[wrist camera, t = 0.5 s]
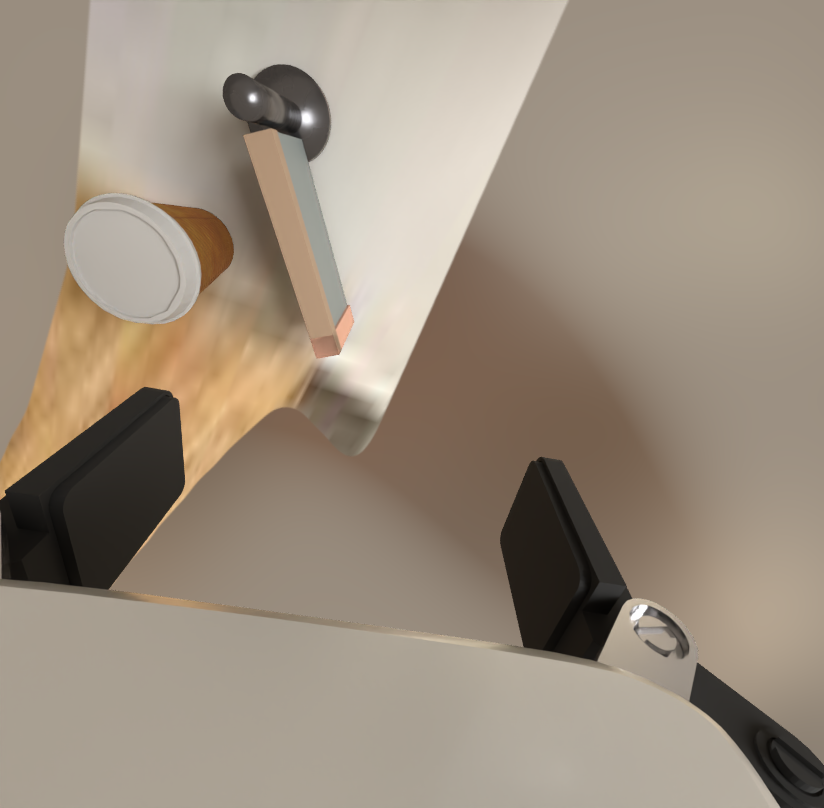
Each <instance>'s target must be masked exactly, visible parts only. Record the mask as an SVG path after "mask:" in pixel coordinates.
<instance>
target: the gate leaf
mask: <svg viewBox="0 0 824 808" xmlns="http://www.w3.org/2000/svg"><path fill="white" fill-rule="evenodd" d="M243 137H244V140H245V143H246V146H247V149H248V152H249V155H250V158H251V161H252V164H253V167H254V170H255V173H256V176H257V179H258V182H259V185H260V188H261V191H262V194H263V197H264V200H265V203H266V206H267V209H268V212H269V215H270V219H271V222H272V225H273V228H274V231H275V234H276V237H277V240H278V243H279V246H280V249H281V252H282V255H283V258H284V261H285V264H286V267H287V270H288V273H289V276H290V279H291V282H292V285H293V288H294V291H295V294H296V297H297V300H298V303H299V306H300V310H301V313H302V316H303V319H304V322H305V325H306V328H307V331H308V334H309V337H310V340H311V343H312V346H313V349H314V352H315V355H316V358H323V357H328V356H334V355H339V354H340V352H341V349H342V347H343V345H344V343H345V341H346V339H347V336H348V334H349V332H350V330H351V328H352V326H353V323H354V319H353V316H352V312H351V308H350V305H347V303H346V299H345V295H344V292H343V288H342V284H341V281H340V277H339V273H338V270H337V266H336V262H335V259H334V255H333V252H332V248H331V244H330V241H329V237H328V233H327V230H326V226H325V222H324V219H323V215H322V211H321V208H320V204H319V200H318V197H317V193H316V189H315V186H314V182H313V178H312V175H311V171H310V167H309V164H308V160H307V157H306V153H305V149H304V146H303V142H302V139H299V138H296V137H292V136H289V135H286V134H282V133H279V132H277V130H275V129H272V128H270V129H266V130H262V131H258V132H254V133H250V134H246V135H243Z"/></svg>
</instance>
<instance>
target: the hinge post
mask: <svg viewBox="0 0 824 808" xmlns="http://www.w3.org/2000/svg"><path fill="white" fill-rule="evenodd" d="M223 99H224V102H225V105H226V107H227V108H228V110H229V111H230V112H231V113H232V114H233V115H234V116H235V117H237V118H239V119H241V120H245V121H248V125H249V128H250V131H251V133H254V132H258V131H262V130H266V129H270V128H272V129H275V130H277V132H279V133H282V134H286V135H289V136H292V137H296V138H299V139H302V142H303V146H304V149H305V153H306V157H307V160H308V162H310V161H312V160H314V159H315V158H316V157H318V156H319V155H320V154H321V152H322V151H323V150H324V148H325V146H326V144H327V142H328V139H329V135H330V130H331V115H330V109H329V106H328V102H327V100H326V97H325V95H324V93H323V92H322V90H321V88H320V87H319V86H318V84H317V83H316V82H315V81H314V80H313V79H312V78H311V77H310V76H309V75H308V74H306V73H305V72H303V71H302V70H300V69H298V68H296V67H293V66H290V65H273V66H270V67H268V68H266V69H264V70H263V71H262V72H260V73H259V74H258V75H257V76H256V77H255V79H252V78H250V77H249V76H247V75H245V74H241V73H235V74H232V75H231V76H229V77H228V78H227V79H226V81H225V83H224V86H223Z"/></svg>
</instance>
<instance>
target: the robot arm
mask: <svg viewBox="0 0 824 808" xmlns="http://www.w3.org/2000/svg"><path fill="white" fill-rule="evenodd" d="M184 485H185V473H184V460H183V447H182V433H181V420H180V407H179V401H178V399H177V398H173V395H172V393H171V392H170V391H166V390H160V389H154V388H149V387H144V388H142V389H140V390H139V391H137V392H136V393H135V394H133V395H132V396H131V397H129V398H128V399H127V400H125V401H124V402H123V403H121V404H120V405H119V406H117V407H116V408H115V409H113V410H112V411H111V412H109V413H108V414H107V415H105V416H104V417H103V418H101V419H100V420H99V421H97V422H96V423H95V424H93V425H92V426H91V427H89V428H88V429H87V430H85V431H84V432H83V433H81V434H80V435H79V436H77V437H76V438H75V439H73V440H72V441H71V442H69V443H68V444H67V445H65V446H64V447H63V448H61V449H60V450H59V451H57V452H56V453H55V454H53V455H52V456H51V457H49V458H48V459H47V460H45V461H44V462H43V463H41V464H40V465H39V466H37V467H36V468H35V469H33V470H32V471H31V472H29V473H28V474H27V475H25V476H24V477H23V478H21V479H20V480H19V481H17V482H16V483H15V484H13V485H12V486H11V487H9V488H8V489H7V490H5V493H6V496H5V497H3V498H2V499H1V500H0V808H824V765H823V764H822V763H821V761H820V760H819V759H818V758H817V757H816V756H815V755H814V754H813V753H812V752H811V750H810V749H809V748H808V747H806V746H805V745H804V744H803V743H802V742H801V741H799V740H798V739H797V738H796V737H795V736H793V735H792V734H791V733H790V732H788V731H787V730H786V729H784V728H783V727H782V726H780V725H779V724H778V723H776V722H775V721H774V720H772V719H771V718H770V717H769V716H767V715H766V714H765V713H763V712H762V711H760V710H759V709H758V708H757V707H755V706H754V705H753V704H751V703H750V702H749V701H747V700H746V699H745V698H743V697H742V696H741V695H739V694H738V693H737V692H736V691H734V690H733V689H731V688H730V687H729V686H728V685H726V684H725V683H724V682H722V681H721V680H720V679H718V678H717V677H716V676H714V675H713V674H712V673H710V672H709V671H708V670H707V669H705V668H704V667H703V666H701V665H700V664H699V663H697V660H698V648H697V646H696V643H695V640H694V638H693V636H692V635H691V633H690V632H689V630H688V629H687V627H686V626H685V625H684V624H683V623H682V622H681V621H680V620H679V619H678V618H677V617H676V616H675V615H673V614H672V613H671V612H669V611H668V610H667V609H665V608H664V607H662V606H660V605H658V604H656V603H654V602H651V601H648V600H645V599H637V598H634V599H632V597H631V595H630V593H629V591H628V589H627V586H626V584H625V582H624V580H623V578H622V576H621V574H620V572H619V570H618V568H617V566H616V564H615V562H614V560H613V558H612V557H611V555H610V553H609V551H608V549H607V547H606V545H605V543H604V541H603V539H602V537H601V535H600V533H599V531H598V529H597V527H596V526H595V523H594V522H593V520H592V518H591V516H590V514H589V512H588V510H587V508H586V506H585V504H584V502H583V500H582V498H581V496H580V494H579V492H578V490H577V488H576V487H575V485H574V483H573V481H572V479H571V477H570V475H569V473H568V471H567V469H566V467H565V465H564V464H563V462H562V461H560V460H556V459H550V458H544V457H540V458H538V459H537V461H531V463H530V464H529V466H528V469H527V471H526V473H525V476H524V478H523V481H522V483H521V486H520V488H519V490H518V493H517V495H516V498H515V500H514V503H513V505H512V508H511V510H510V513H509V515H508V517H507V520H506V522H505V524H504V527H503V529H502V532H501V537H500V544H501V548H502V553H503V558H504V562H505V567H506V571H507V575H508V580H509V584H510V589H511V593H512V598H513V602H514V606H515V610H516V615H517V620H518V624H519V628H520V633H521V637H522V642H523V646H524V647H518V646H512V645H506V644H499V643H493V642H487V641H480V640H473V639H466V638H459V637H452V636H445V635H438V634H431V633H424V632H417V631H410V630H403V629H396V628H389V627H382V626H375V625H368V624H360V623H353V622H346V621H339V620H332V619H325V618H318V617H310V616H303V615H295V614H288V613H281V612H274V611H266V610H259V609H251V608H244V607H237V606H229V605H222V604H214V603H207V602H199V601H191V600H184V599H176V598H168V597H161V596H153V595H145V594H138V593H131V592H123V591H114V590H109V588H110V587H111V586H112V584H113V583H114V582H115V580H116V579H117V578H118V576H119V575H120V574H121V572H122V571H123V570H124V569H125V567H126V566H127V565H128V563H129V562H130V561H131V559H132V558H133V557H134V555H135V554H136V553H137V551H138V550H139V549H140V547H141V546H142V545H143V543H144V542H145V541H146V540H147V538H148V537H149V536H150V534H151V533H152V532H153V530H154V529H155V528H156V526H157V525H158V524H159V522H160V521H161V520H162V518H163V517H164V516H165V514H166V513H167V512H168V511H169V509H170V508H171V507H172V505H173V504H174V503H175V501H176V500H177V499H178V497H179V496H180V495H181V493H182V491H183V488H184Z"/></svg>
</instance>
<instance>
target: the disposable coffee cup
mask: <svg viewBox="0 0 824 808" xmlns="http://www.w3.org/2000/svg"><path fill="white" fill-rule="evenodd" d="M64 250H65V257H66V260H67V264H68V267H69V269H70V271H71V273H72V275H73V277H74V279H75V280H76V282H77V284H78V285H79V287H80V288H81V289H82V290H83V291H84V292H85V294H86V295H87V296H88V297H89V298H90V299H91V300H92V301H93V302H95V303H96V304H97V305H98V306H100V307H101V308H102V309H103V310H105V311H107V312H109V313H111V314H113V315H115V316H116V317H118V318H120V319H124V320H128V321H132V322H136V323H147V324H165V323H168V322H172V321H175V320H177V319H179V318H180V317H182V316H183V315H185V314H186V313H187V312H188V311H189V310H190V309H191V307H192V306H193V305H194V303H195V302H196V299H197V297H198V295H199V294H200V293H201V292H202V291H203V290H204V289H205V288H207V287H208V286H209V285H210V284H211V283H212V282H213V281H214V280H215V279H216V278H217V277H218V276H219V275H220V274H221V273H222V272H224V271H225V270H226V269H227V268H228V267H229V265H230V264H231V261H232V259H233V253H234V248H233V242H232V238H231V236H230V233H229V231H228V230H227V228H226V226H225V225H224V224H223V223H222V222H221V220H219V219H218V218H217V217H216V216H214V215H213V214H211V213H210V212H208V211H205V210H203V209H198V208H189V207H182V206H174V205H166V204H158V203H151V202H148V201H146V200H144V199H141V198H139V197H136V196H132V195H127V194H121V193H108V194H103V195H99V196H96V197H93V198H91V199H90V200H88V201H87V202H85V203H84V204H83V205H82V206H81V207H80V208H79V209H78V211H77V212H76V213H75V214H74V215H73V216H72V218H71V219H70V221H69V222H68V224H67V227H66V230H65V235H64Z"/></svg>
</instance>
